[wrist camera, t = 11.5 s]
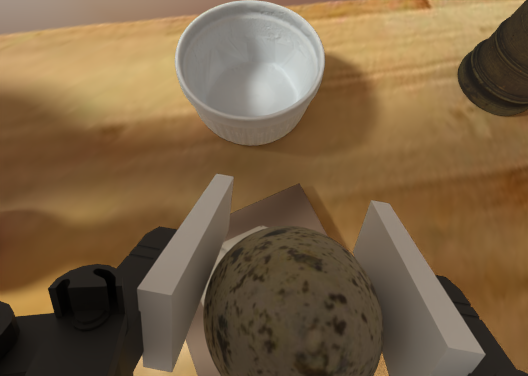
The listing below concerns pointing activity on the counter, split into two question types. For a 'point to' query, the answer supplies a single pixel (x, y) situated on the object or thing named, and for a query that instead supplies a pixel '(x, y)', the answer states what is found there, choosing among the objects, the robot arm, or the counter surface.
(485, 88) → the container
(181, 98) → the counter surface
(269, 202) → the egg stand
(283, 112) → the ramekin
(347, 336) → the decorative egg
